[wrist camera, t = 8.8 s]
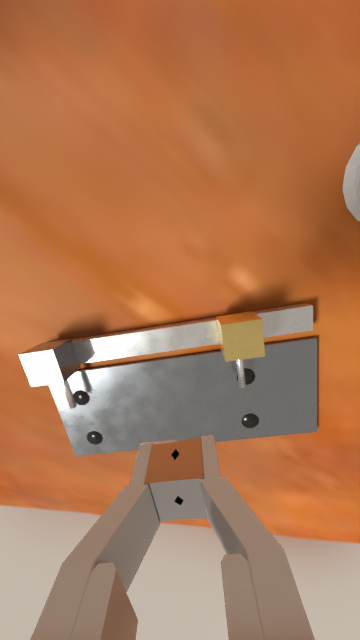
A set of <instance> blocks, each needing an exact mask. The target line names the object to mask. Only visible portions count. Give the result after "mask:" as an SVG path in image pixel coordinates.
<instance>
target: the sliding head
mask: <svg viewBox="0 0 360 640" xmlns="http://www.w3.org/2000/svg"><path fill="white" fill-rule="evenodd" d="M216 319H217V327H218V335H219V342H220V349H221V352H222V354H223V357H224V359H225V362H228V361H236V363H237V372H238V381H239V387H240V388H245V387H246V382H245V372H244V363H243V359H251V358H258V357H265V349H264V334H263V320H262V318H260V317H259V316H257V315H256V314H254V313H253V312H252V311H250V312H244V313H237V314H231V315H224V316H218V317H216Z"/></svg>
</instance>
